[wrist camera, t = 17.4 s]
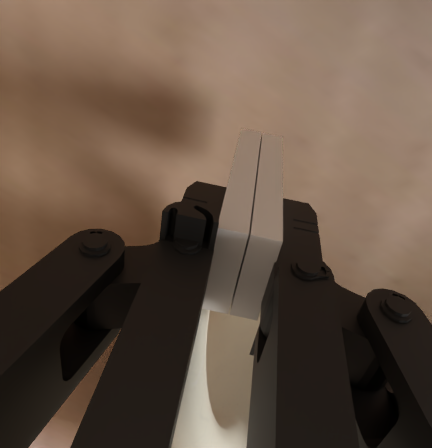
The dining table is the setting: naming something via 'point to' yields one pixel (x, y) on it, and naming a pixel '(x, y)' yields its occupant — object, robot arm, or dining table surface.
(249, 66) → the dining table surface
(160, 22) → the dining table surface
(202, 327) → the pitcher
